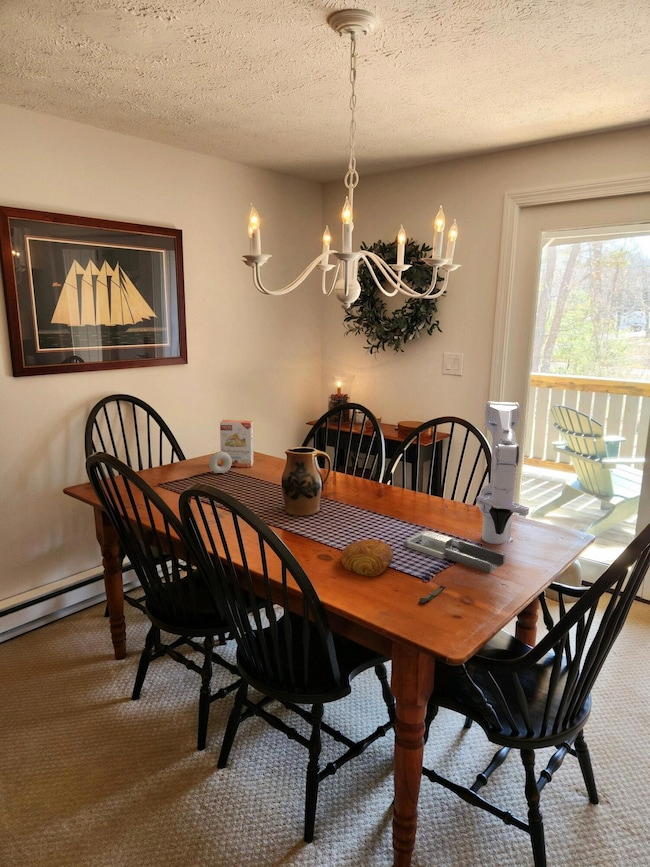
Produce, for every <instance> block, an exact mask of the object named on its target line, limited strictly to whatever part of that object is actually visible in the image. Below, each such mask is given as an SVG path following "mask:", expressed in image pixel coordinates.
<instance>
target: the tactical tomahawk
mask: <svg viewBox="0 0 650 867" xmlns="http://www.w3.org/2000/svg"><path fill="white" fill-rule="evenodd" d="M446 589H447V587H445V586H443V585H440V586H438V587H437V588H435V589H434V590H433V591H431V592H430V593H429V595H426V597H420V598H419V600H418V603H420V604H425V603H426V602H427V601H430V602H431V601H432V600H433V599H435V597H437V596H438V595H439V594H441V593H442V592H443V591H444V590H446Z"/></svg>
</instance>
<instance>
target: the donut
mask: <svg viewBox="0 0 650 867" xmlns="http://www.w3.org/2000/svg"><path fill="white" fill-rule="evenodd" d="M221 459H223V460H224V464H223V465H222V466H221V465H220V466H219V465H218V462H219V461H221ZM208 465H209V468H210V470H211V471H212V472H213V473H215V474H217V473H223V474H226V473H227V472H228V471H229V470H230V469H231V468H232V467H231V465H232V459H231V457H230V455H229V454H228V453H226V452H221V450H220V451H217V452H215V453H213V455H212V456H210V459H209V463H208ZM225 472H226V473H225Z"/></svg>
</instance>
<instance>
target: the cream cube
mask: <svg viewBox="0 0 650 867" xmlns="http://www.w3.org/2000/svg"><path fill="white" fill-rule="evenodd" d="M453 539H454V538H453V537H450V536H446V535H443V534H440V535H439V536H437V537H435V538H434V543H433V549H434V550H436V551H439V552H442V553H444V554H445V549H446V548H448V549H451V550H453V545H452V541H453Z"/></svg>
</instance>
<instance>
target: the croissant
mask: <svg viewBox="0 0 650 867" xmlns="http://www.w3.org/2000/svg"><path fill="white" fill-rule="evenodd" d="M393 559H394V550H393V548H392V547H391V546H390V544H387V543H386V542H385V541H383V540H381V539H377V538H375V539H374V538H373V539H372V538H371V539H369V538H368V539H367V538H366V539H361V540H357V541H354V542H351V543H349V544H348V545H346V546H345V547H344V548H343V549H342V552H341V564H342V565H343V567H344V569H345V570H346V571H349V572H350V573H356V574H358V575H362V576H366V577H377V576H379V575H380V574H382V573H383V572H385V570H387V568H388V567H389V566H390V564H391V563H392V562H393Z"/></svg>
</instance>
